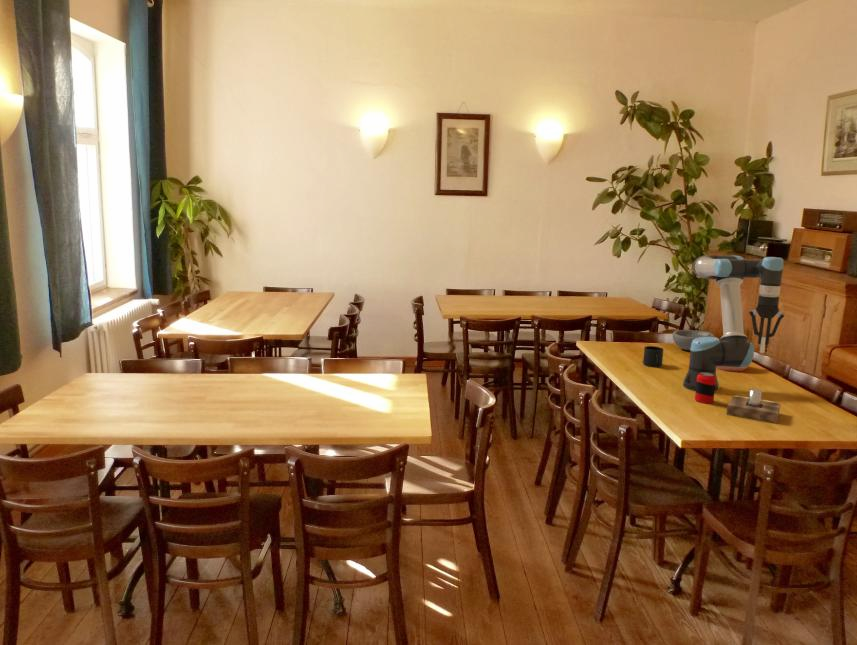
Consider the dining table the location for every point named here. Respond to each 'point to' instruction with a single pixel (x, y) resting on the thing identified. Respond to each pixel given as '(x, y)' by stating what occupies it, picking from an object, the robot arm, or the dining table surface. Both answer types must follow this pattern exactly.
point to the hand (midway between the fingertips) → (762, 352)
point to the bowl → (688, 337)
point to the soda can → (705, 388)
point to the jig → (754, 409)
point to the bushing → (754, 398)
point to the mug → (653, 356)
